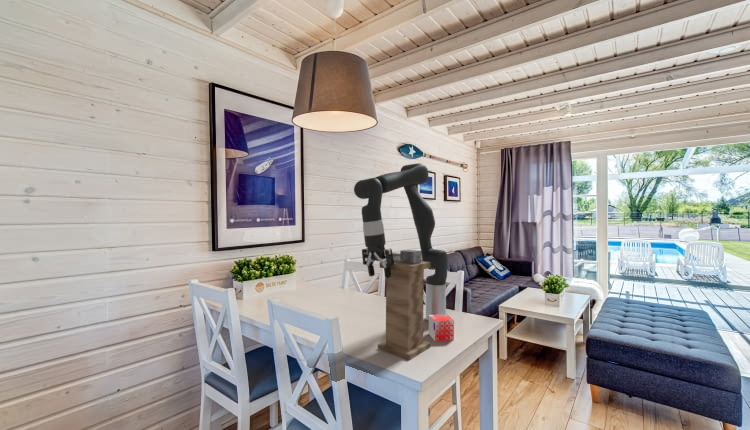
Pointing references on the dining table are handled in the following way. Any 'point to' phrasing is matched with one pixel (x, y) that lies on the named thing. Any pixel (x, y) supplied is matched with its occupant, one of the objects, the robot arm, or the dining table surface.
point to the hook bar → (407, 256)
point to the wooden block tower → (405, 310)
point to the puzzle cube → (441, 327)
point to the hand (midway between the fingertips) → (379, 276)
